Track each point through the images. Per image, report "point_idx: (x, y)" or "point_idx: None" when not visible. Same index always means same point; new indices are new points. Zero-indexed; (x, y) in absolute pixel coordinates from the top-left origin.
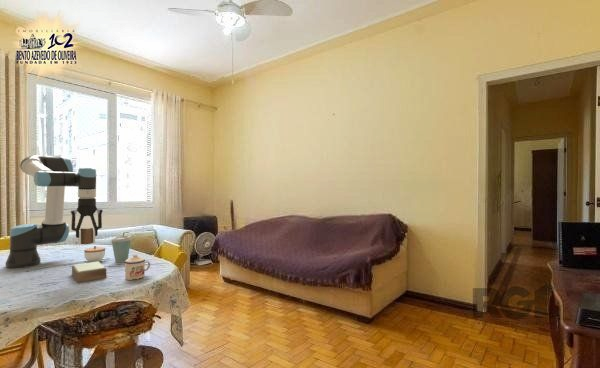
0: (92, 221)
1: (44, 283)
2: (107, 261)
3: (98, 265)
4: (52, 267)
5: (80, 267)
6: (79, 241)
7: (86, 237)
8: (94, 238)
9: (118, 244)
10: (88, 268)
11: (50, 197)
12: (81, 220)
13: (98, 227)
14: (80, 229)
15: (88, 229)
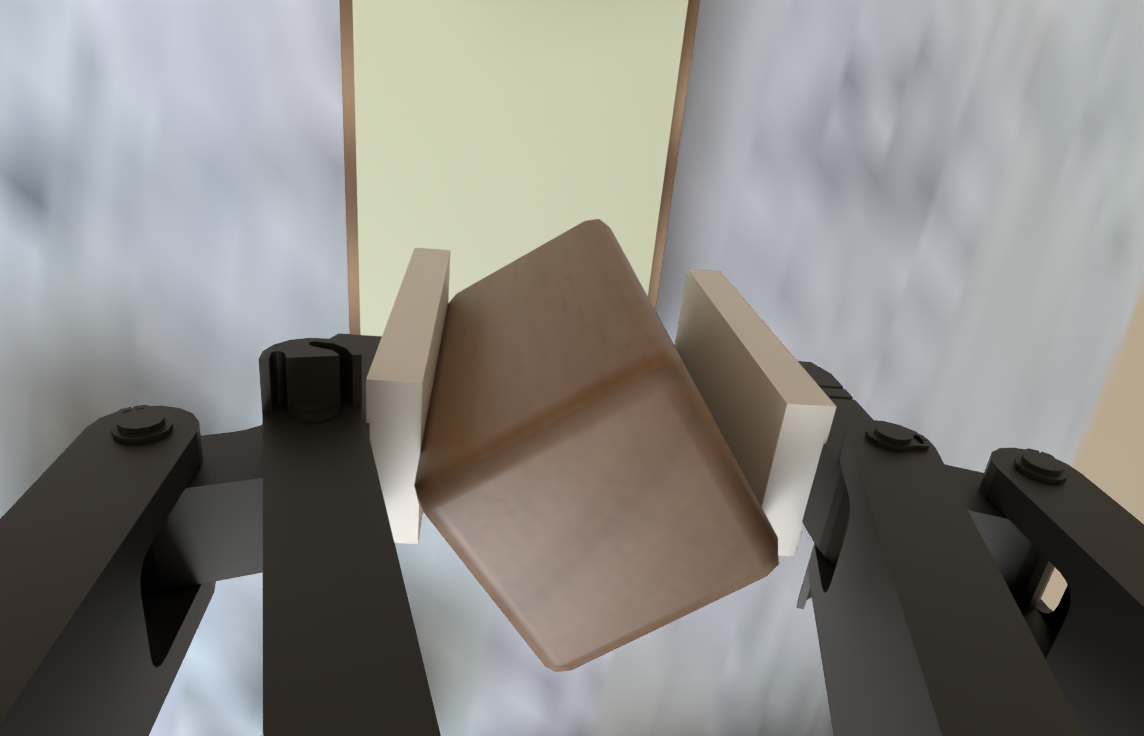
0: (417, 646)
1: (902, 199)
2: (233, 669)
3: (404, 145)
4: (676, 730)
5: (609, 204)
6: (733, 291)
7: (618, 263)
8: (415, 282)
9: None
10: (548, 57)
11: None
12: (997, 729)
13: (217, 468)
14: (776, 545)
15: (590, 377)
